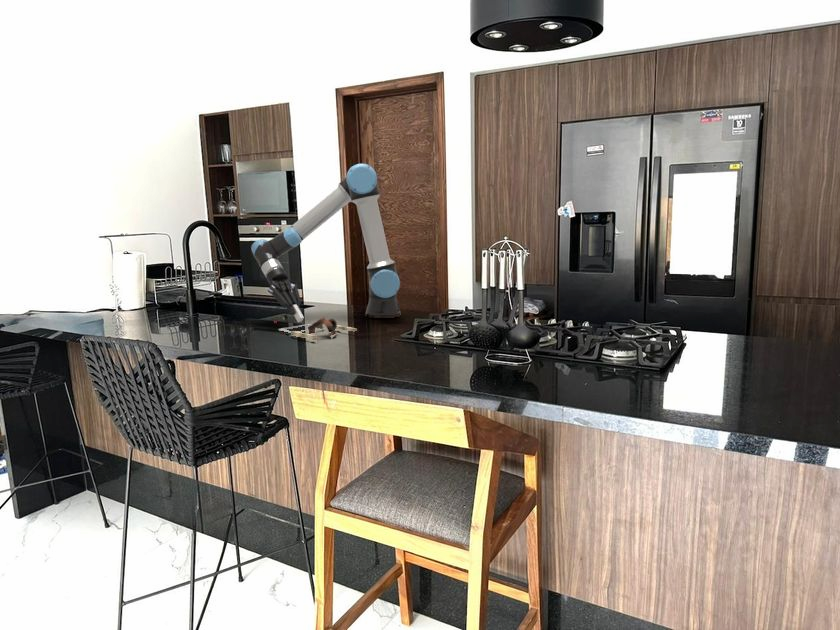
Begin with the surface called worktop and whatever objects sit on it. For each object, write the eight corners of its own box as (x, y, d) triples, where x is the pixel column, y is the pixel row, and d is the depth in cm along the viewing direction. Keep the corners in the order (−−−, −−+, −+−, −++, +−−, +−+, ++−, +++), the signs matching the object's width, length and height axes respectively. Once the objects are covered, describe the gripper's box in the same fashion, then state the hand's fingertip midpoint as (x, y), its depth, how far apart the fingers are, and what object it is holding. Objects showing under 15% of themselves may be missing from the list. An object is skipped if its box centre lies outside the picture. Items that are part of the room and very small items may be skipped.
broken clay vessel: (328, 342, 219) (316, 322, 218) (312, 351, 225) (300, 331, 224) (347, 328, 228) (335, 309, 228) (331, 337, 234) (319, 318, 233)
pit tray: (278, 332, 234) (278, 328, 234) (308, 327, 244) (308, 324, 244) (293, 336, 228) (293, 332, 227) (324, 331, 238) (324, 327, 237)
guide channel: (291, 337, 224) (290, 331, 224) (333, 330, 238) (332, 324, 238) (314, 343, 215) (314, 336, 214) (357, 335, 229) (356, 328, 228)
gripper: (285, 278, 250) (311, 323, 241) (256, 280, 241) (282, 328, 232) (292, 265, 245) (318, 311, 237) (263, 267, 236) (290, 315, 227)
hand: (300, 319), depth 234 cm, fingers closed
